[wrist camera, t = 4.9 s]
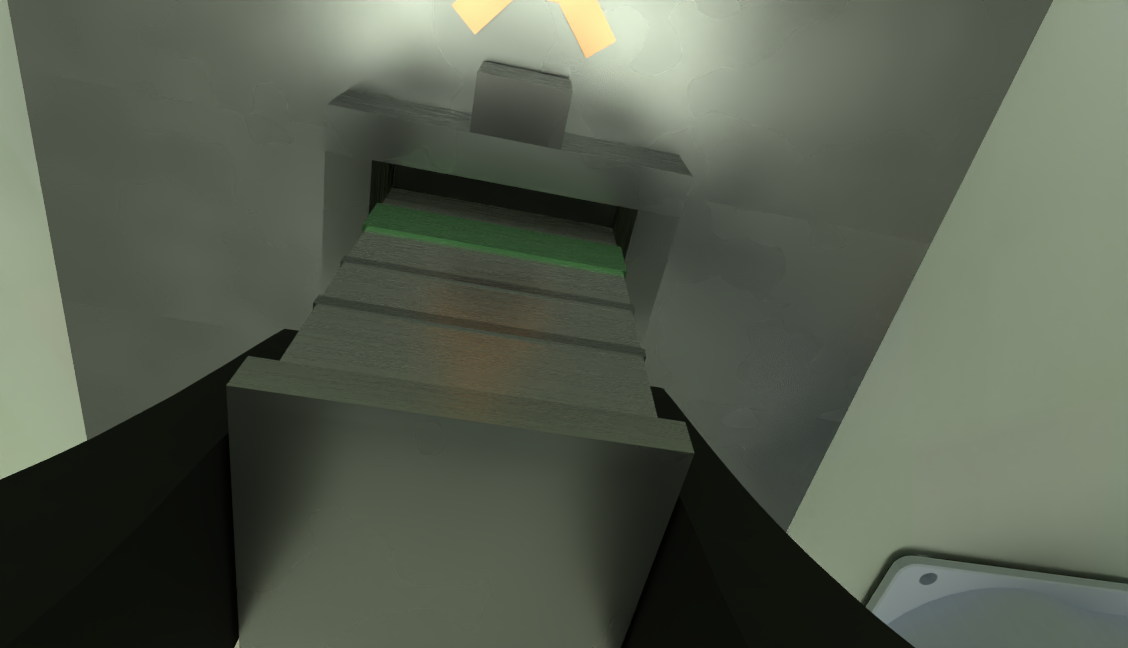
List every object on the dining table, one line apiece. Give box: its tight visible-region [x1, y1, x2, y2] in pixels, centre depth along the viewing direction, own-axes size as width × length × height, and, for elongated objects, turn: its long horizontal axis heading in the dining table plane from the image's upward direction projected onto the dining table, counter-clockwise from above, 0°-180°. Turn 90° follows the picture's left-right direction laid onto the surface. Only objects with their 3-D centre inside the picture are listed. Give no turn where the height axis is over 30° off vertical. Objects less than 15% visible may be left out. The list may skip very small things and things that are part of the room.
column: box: [226, 187, 695, 648], centre depth 10 cm, size 4×4×6 cm
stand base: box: [8, 0, 1053, 532], centre depth 14 cm, size 18×18×2 cm
